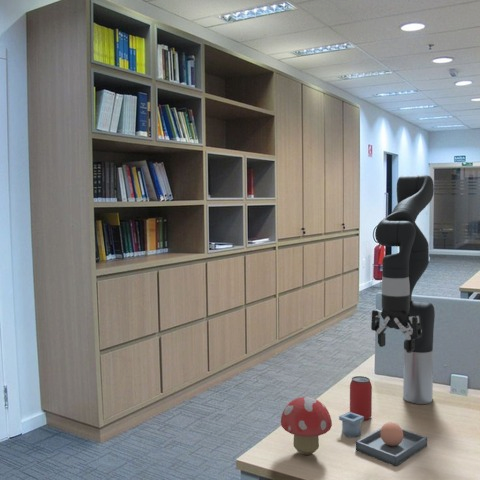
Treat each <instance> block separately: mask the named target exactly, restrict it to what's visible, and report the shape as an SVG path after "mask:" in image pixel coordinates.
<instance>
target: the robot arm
mask: <svg viewBox="0 0 480 480" xmlns="http://www.w3.org/2000/svg"><path fill="white" fill-rule="evenodd" d="M434 191H435V185H434V180H433V178H432V177H431V176H430V175H427V174H410V175H400V176H399V177H398V178H397V181H396V201H397V202H396V203H397V204H396V205H395V207H394V208H393V209H392V212H391V213H390V214H389V215H387V216H386V217H384V218H383V219H381V221H379V222H378V224H377V226H376V229H375V232H374V233H375V235H374V237H375V240H376V242H377V244H379V245H380V246H381V247H382V246H383V247H398V250H399V251H398V252H397V253H393V254H388V255H385V256H383V258H382V261H381V263H382V265H381V268H382V280H381V289H380V290H381V308H382V309H381V310H380V308H377V309H373V310H372V311H371V322H370V323H371V326H370V327H371V331H372V332H373V331H374V332H376V333H377V344H378V345H379V348H380V347H381V348H383V347H385V346H386V332H385V331H386V330H387V329H395V330H400V331H401V333H402V334H403V335H404V336H405V337H406V339H404V342H403V381H402V382H403V384H402V385H403V386H402V389H403V391H402V392H403V393H402V395H403V396H402V398H403V400H404V401H406V402H408V403H412V404H417V405H426V404H430V403H432V402H433V394H434V393H433V391H434V390H433V385H434V384H433V383H434V380H433V379H434V375H433V373H434V372H433V364H434V363H433V362H434V361H433V359H434V358H433V356H434V355H433V354H434V352H433V351H434V332H435V331H434V328H435V317H436V316H435V315H436V311H435V310H436V309H435V307H434V305H433V304H432V303H431V302H428V301H427V302H425V301H415V300H412V296H413V295H412V294H413V292H414V288H415V287H416V284H417V283H418V282H419V280H420V279H421V277H422V275H423V274H424V273H425V271H426V270H427V268H428V266H429V264H430V259H429V257H430V254H429V253H430V252H429V246H430V244H429V242H428V240H427V238H426V236H425V235H424V233H423V232H422V230H421V229H420V227H419V226H418V225H417V223H416V221H417V219H418V216H419V215H420V213H421V212H422V211H423V210H425V208H426V207H427V206H428V205H429V204H430V203H431V201H432V199H433V197H434V194H435V192H434ZM381 317H382V320H383V321H382V322H380V321H381Z"/></svg>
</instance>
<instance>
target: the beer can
mask: <svg viewBox="0 0 480 480" xmlns="http://www.w3.org/2000/svg"><path fill="white" fill-rule="evenodd" d="M372 390H373V386H372V383H371V379H370V378H369V377H367V376H361V375H357V376H352V377H351V382H350V384H349V412H352V413H355V414H358V415H361V416H364V420H363V421H368V420H370V419H371V418H372V415H373V413H372V409H373V405H372V403H373V400H372V398H373V397H372V396H373V393H372V392H373V391H372Z"/></svg>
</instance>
